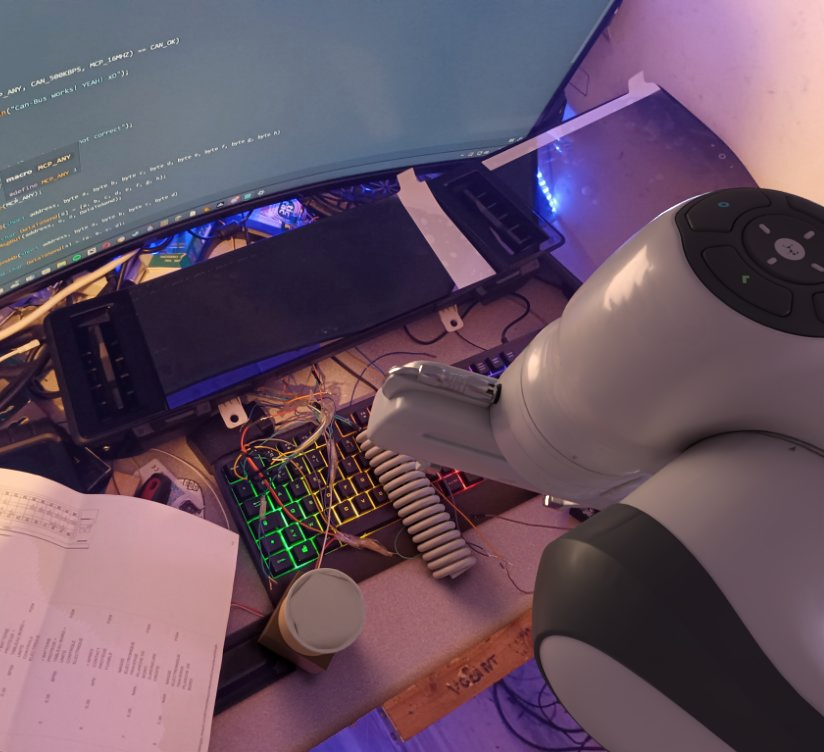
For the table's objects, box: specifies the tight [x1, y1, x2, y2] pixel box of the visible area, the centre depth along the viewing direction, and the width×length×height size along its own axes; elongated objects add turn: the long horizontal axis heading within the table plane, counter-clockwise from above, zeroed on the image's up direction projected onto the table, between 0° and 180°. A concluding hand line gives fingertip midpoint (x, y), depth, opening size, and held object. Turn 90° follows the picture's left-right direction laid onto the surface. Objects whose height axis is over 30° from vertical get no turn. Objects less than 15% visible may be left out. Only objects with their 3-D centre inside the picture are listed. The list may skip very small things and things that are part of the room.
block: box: [257, 570, 337, 674], centre depth 66 cm, size 6×6×11 cm
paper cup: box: [279, 567, 367, 656], centre depth 57 cm, size 6×6×8 cm
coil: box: [355, 429, 477, 580], centre depth 75 cm, size 5×5×18 cm
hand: (489, 480), depth 51 cm, fingers open, 8 cm apart
